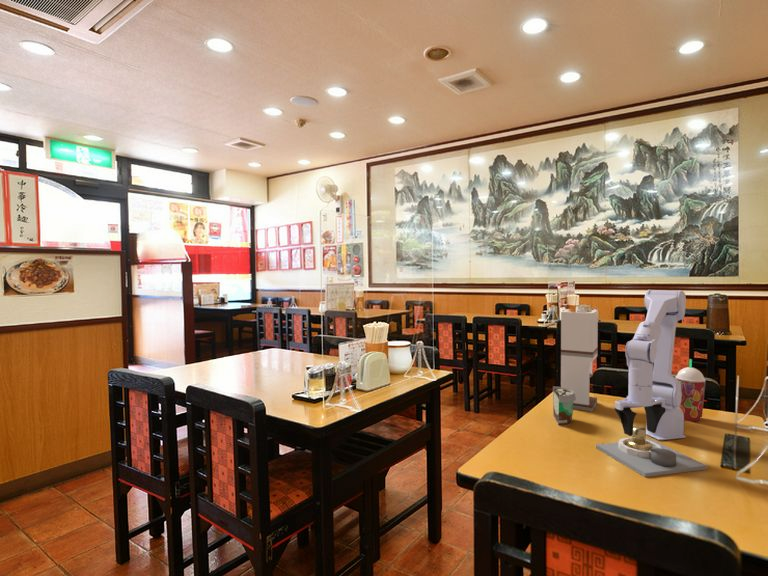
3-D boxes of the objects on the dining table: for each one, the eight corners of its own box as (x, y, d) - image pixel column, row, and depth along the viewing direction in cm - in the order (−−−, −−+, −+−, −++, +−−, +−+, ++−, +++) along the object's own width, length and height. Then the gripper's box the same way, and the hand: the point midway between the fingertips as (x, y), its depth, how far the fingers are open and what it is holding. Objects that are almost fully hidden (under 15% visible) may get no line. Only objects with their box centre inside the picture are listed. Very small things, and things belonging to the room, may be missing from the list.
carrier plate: (650, 442, 130) (650, 430, 130) (706, 469, 113) (706, 455, 113) (596, 448, 127) (596, 435, 127) (645, 477, 109) (645, 463, 109)
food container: (579, 427, 143) (579, 397, 142) (559, 426, 144) (559, 396, 143) (571, 415, 155) (571, 386, 154) (552, 414, 156) (552, 386, 156)
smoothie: (704, 416, 151) (705, 358, 150) (705, 424, 144) (707, 363, 143) (674, 412, 155) (675, 355, 155) (674, 420, 148) (675, 360, 148)
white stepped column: (592, 411, 158) (593, 313, 157) (560, 406, 164) (561, 311, 163) (597, 402, 168) (597, 310, 166) (567, 398, 174) (567, 309, 172)
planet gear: (639, 443, 127) (639, 423, 127) (658, 453, 121) (658, 431, 120) (620, 446, 125) (620, 425, 125) (637, 455, 119) (638, 433, 119)
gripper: (650, 378, 127) (649, 425, 128) (607, 382, 124) (606, 430, 125) (671, 384, 121) (671, 434, 121) (626, 389, 117) (625, 440, 118)
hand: (639, 433), depth 122 cm, fingers open, 7 cm apart
